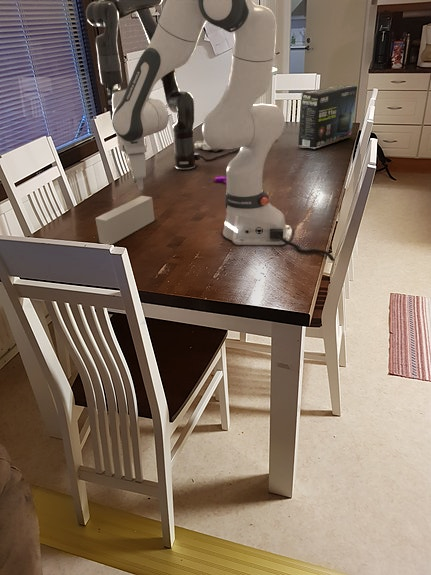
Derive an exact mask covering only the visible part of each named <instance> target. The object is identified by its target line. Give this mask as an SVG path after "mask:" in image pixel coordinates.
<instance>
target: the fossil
mask: <svg viewBox="0 0 431 575" xmlns="http://www.w3.org/2000/svg"><path fill="white" fill-rule="evenodd" d="M194 148H195V149H197V150H204V151H213V152H215V153H217V152H219V151H220V150H221V149H213V148H211V147H210V146H208V144H207V143H206V142H205V140H204V139H203V140H197V141H194Z"/></svg>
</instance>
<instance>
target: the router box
mask: <svg viewBox="0 0 431 575" xmlns="http://www.w3.org/2000/svg"><path fill="white" fill-rule="evenodd" d="M357 93H358V86H356V85H350V84H339V85H338V84H337V85H334V86H328V87H324V88H318V89H314V90H309V91H304V92H301V93H300V109H299V110H300V111H299V124H298V137H297V146H298V145H302V146H307V147H317V146H320V145H323V144H325V143H328V142H331V141H333V140H336V139H338V138H341V137H344V136H347V135H351V136H352V133H353V132H352V131H353V125H354V115H355V109H356V99H357ZM311 151H313V150H312V149H311Z"/></svg>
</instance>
